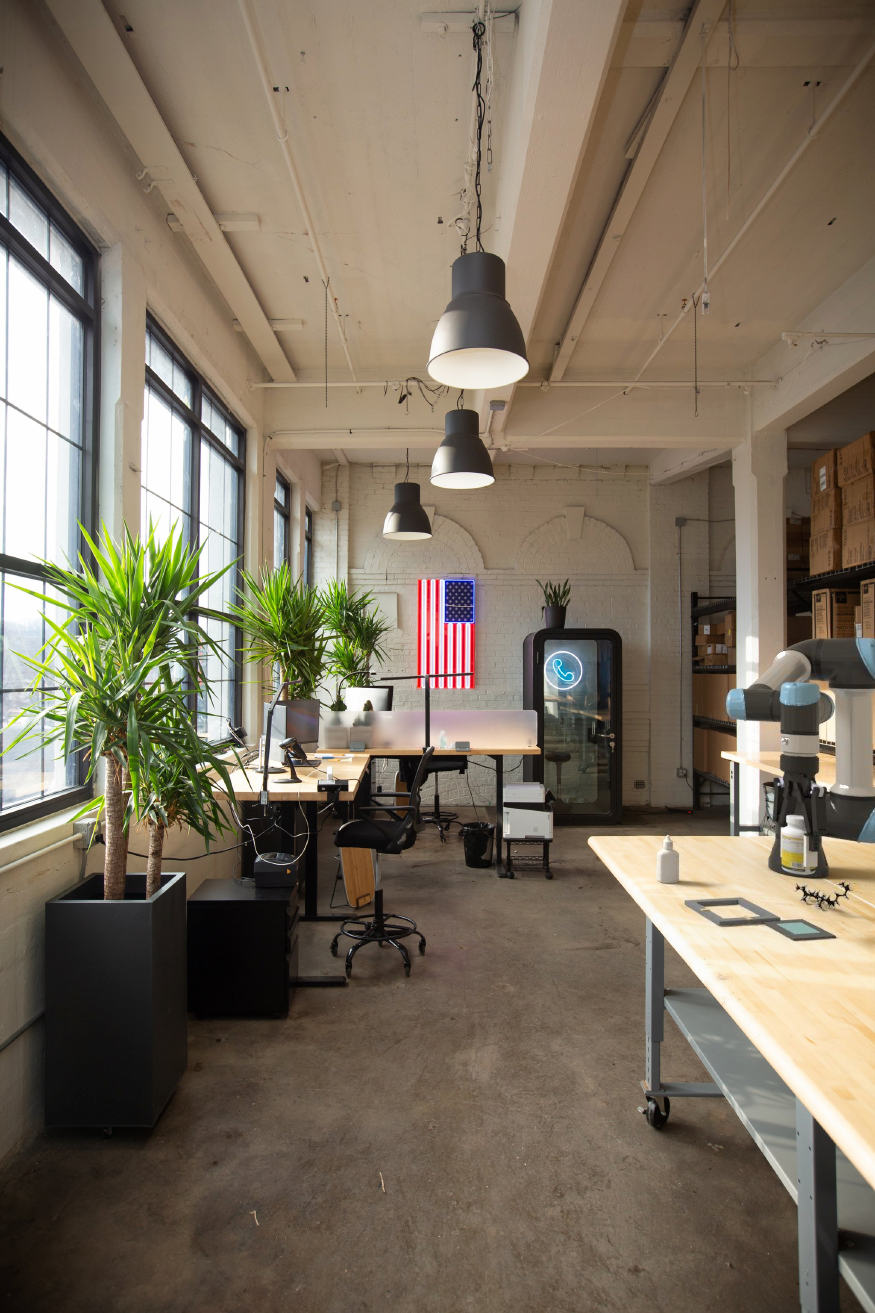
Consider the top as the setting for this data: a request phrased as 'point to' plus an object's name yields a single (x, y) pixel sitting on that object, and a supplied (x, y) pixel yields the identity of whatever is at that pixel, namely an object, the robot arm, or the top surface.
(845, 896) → the molecular model
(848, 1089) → the top surface
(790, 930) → the mat
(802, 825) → the pill bottle
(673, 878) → the eye dropper bottle
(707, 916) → the socket plate
